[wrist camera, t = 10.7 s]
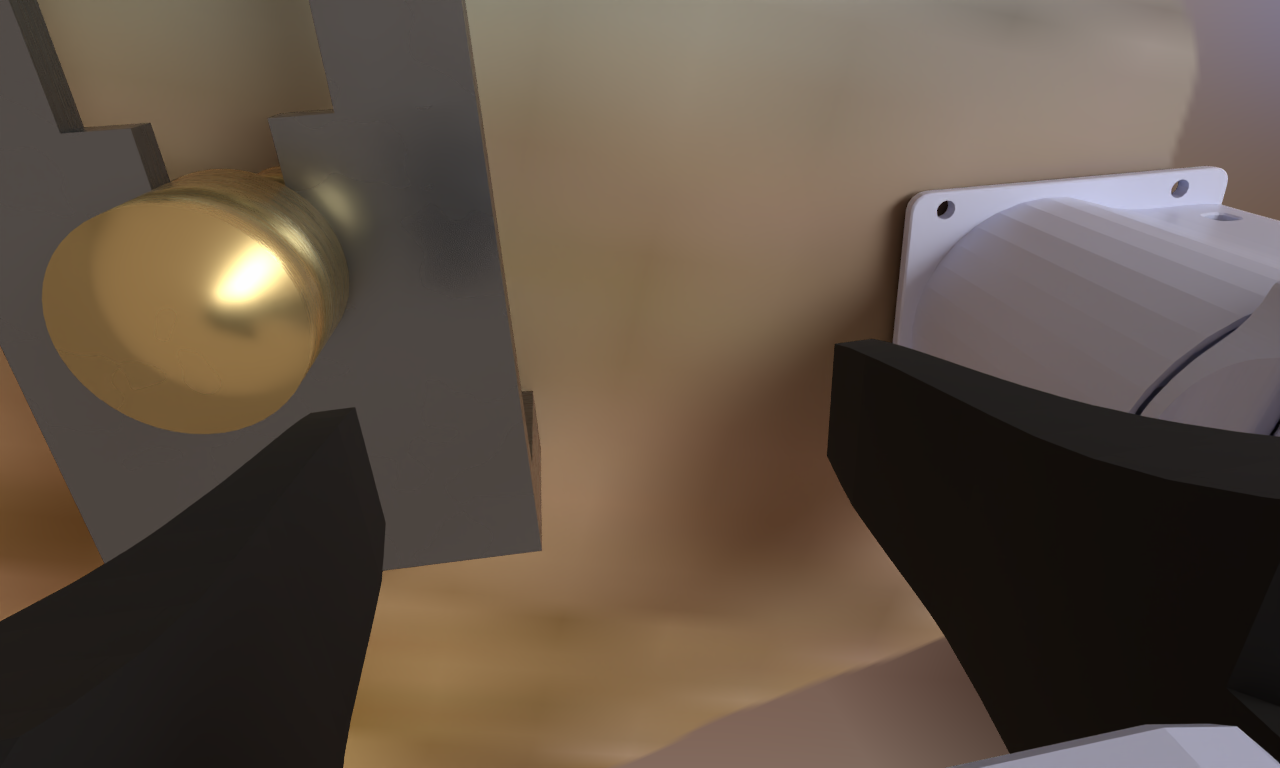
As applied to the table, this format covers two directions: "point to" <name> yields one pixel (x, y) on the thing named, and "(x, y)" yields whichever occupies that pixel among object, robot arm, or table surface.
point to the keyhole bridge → (377, 304)
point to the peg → (198, 300)
